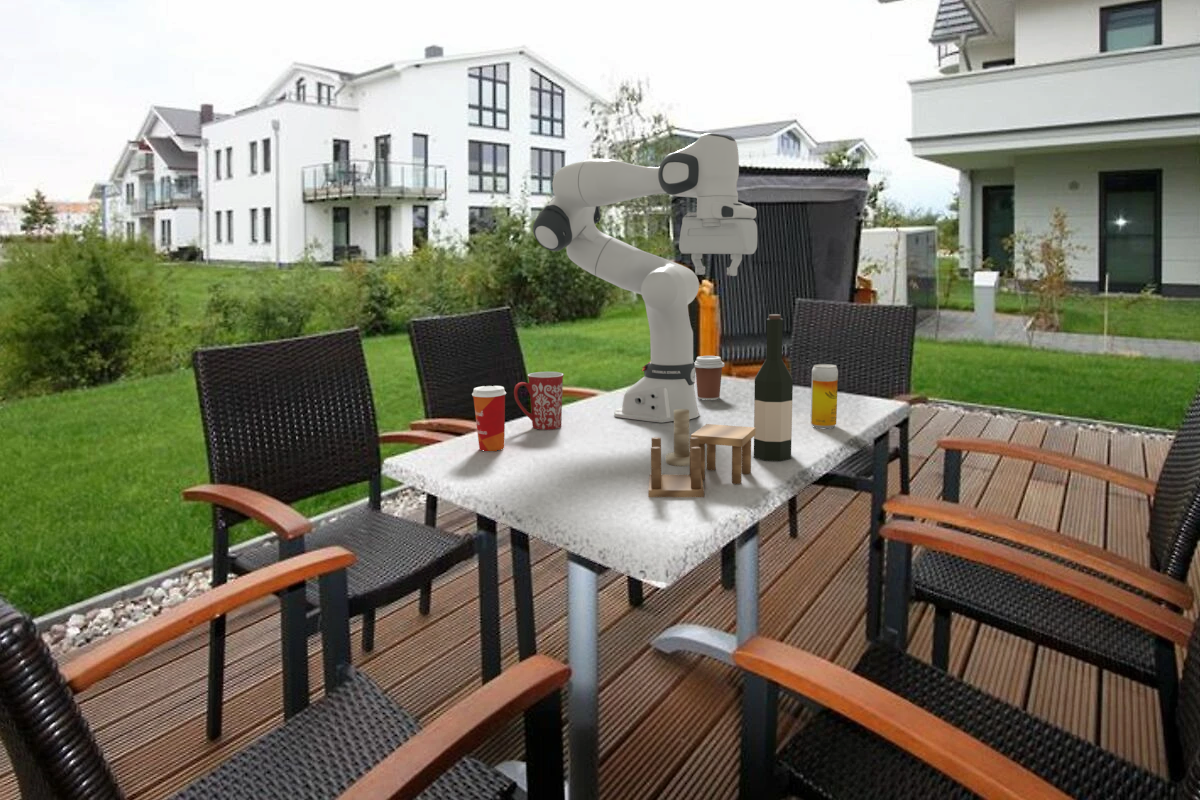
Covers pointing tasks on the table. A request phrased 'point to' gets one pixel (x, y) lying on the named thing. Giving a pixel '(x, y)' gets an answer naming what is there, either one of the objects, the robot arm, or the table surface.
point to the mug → (543, 399)
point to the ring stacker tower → (680, 440)
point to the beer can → (824, 395)
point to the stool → (728, 437)
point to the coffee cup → (708, 376)
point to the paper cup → (490, 416)
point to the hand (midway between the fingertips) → (715, 275)
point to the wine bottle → (773, 400)
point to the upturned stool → (676, 483)
